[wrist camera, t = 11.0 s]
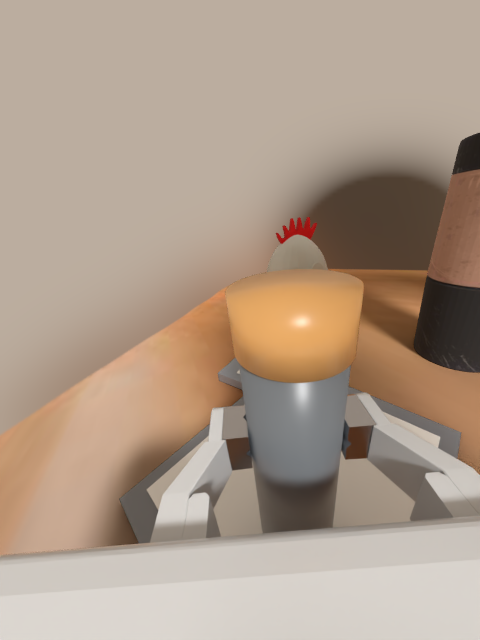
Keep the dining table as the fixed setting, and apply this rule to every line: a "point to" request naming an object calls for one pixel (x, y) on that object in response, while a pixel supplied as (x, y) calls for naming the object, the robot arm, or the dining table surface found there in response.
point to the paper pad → (241, 495)
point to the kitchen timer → (297, 249)
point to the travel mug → (455, 272)
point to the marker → (295, 386)
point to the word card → (231, 374)
